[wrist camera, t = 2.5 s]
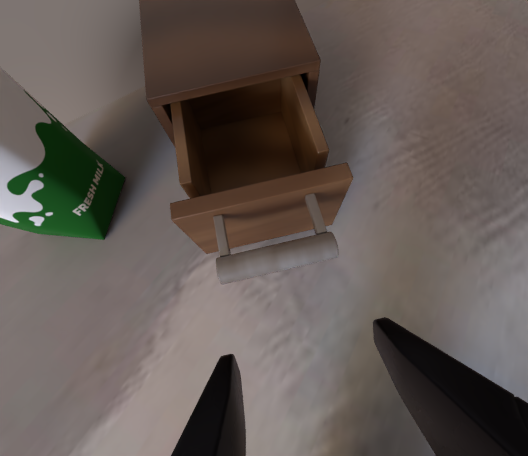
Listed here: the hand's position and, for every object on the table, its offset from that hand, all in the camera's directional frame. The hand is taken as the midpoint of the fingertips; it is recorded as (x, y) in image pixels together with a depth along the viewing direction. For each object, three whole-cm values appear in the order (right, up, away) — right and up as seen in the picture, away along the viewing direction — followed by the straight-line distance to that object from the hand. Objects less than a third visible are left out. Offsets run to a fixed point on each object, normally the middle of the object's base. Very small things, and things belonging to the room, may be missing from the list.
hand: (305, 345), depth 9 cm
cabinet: (-4, +17, +22) cm, 28 cm away
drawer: (-2, +7, +16) cm, 18 cm away
